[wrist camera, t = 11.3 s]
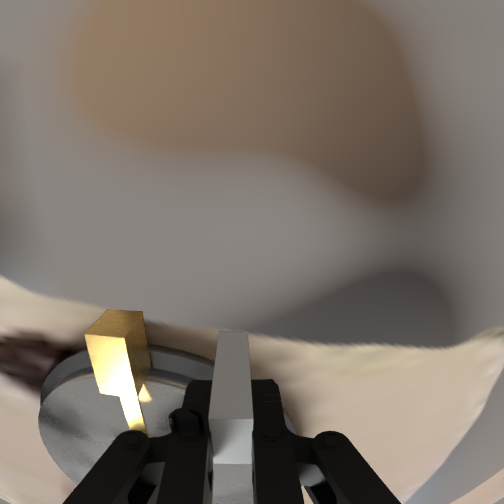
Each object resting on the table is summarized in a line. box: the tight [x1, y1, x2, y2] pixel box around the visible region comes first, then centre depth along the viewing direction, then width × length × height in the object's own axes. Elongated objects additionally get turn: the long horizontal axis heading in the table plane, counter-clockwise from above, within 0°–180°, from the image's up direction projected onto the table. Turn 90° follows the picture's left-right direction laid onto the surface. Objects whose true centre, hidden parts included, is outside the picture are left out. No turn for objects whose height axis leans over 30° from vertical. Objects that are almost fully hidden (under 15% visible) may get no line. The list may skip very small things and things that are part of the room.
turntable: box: [38, 310, 254, 504], centre depth 18 cm, size 22×26×3 cm
